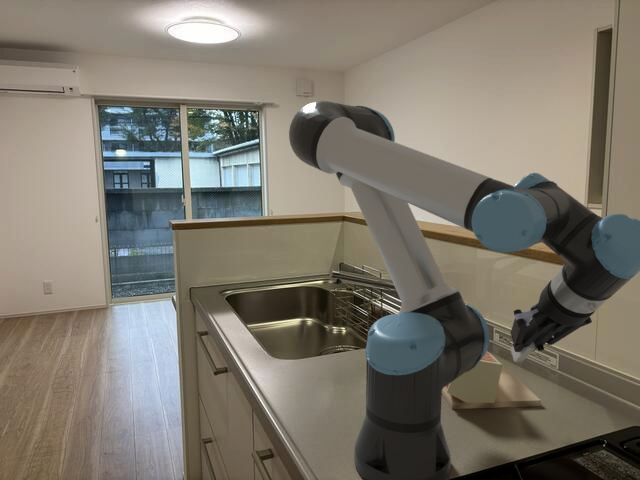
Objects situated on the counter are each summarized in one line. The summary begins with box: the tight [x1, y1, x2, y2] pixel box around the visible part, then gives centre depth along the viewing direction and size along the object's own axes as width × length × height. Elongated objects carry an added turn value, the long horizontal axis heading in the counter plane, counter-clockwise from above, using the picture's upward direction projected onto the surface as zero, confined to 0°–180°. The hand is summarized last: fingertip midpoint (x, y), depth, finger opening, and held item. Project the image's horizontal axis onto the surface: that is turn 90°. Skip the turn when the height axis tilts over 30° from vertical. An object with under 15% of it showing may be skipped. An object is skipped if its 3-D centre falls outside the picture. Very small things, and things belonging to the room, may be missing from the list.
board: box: [442, 366, 542, 410], centre depth 102 cm, size 18×16×1 cm
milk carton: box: [446, 351, 503, 403], centre depth 102 cm, size 9×9×20 cm
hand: (516, 355), depth 92 cm, fingers closed
